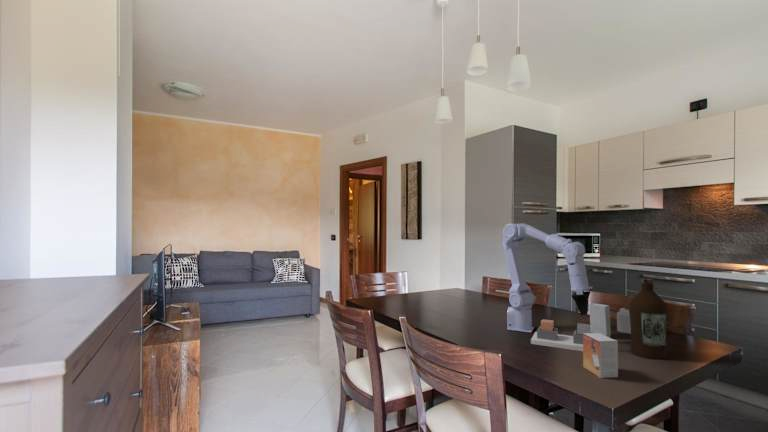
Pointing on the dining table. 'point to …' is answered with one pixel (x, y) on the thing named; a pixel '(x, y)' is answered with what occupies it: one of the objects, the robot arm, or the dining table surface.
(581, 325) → the button grey
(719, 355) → the dining table surface
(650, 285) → the olive oil
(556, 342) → the console
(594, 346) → the small box
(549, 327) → the button terracotta
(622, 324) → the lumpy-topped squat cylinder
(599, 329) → the skincare box
